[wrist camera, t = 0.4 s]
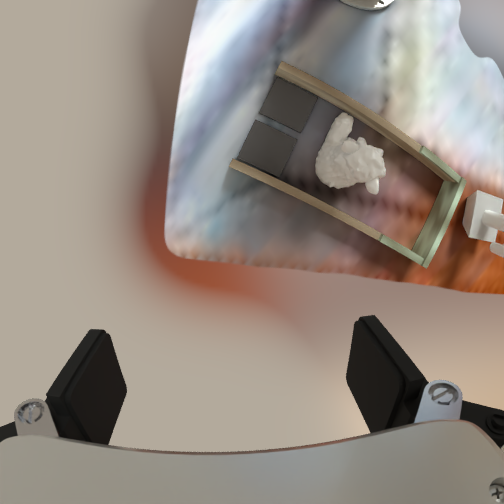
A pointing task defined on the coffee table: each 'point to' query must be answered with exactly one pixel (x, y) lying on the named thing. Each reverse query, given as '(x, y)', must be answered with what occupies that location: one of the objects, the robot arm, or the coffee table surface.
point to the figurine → (484, 219)
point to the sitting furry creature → (348, 158)
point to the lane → (452, 180)
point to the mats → (272, 140)
